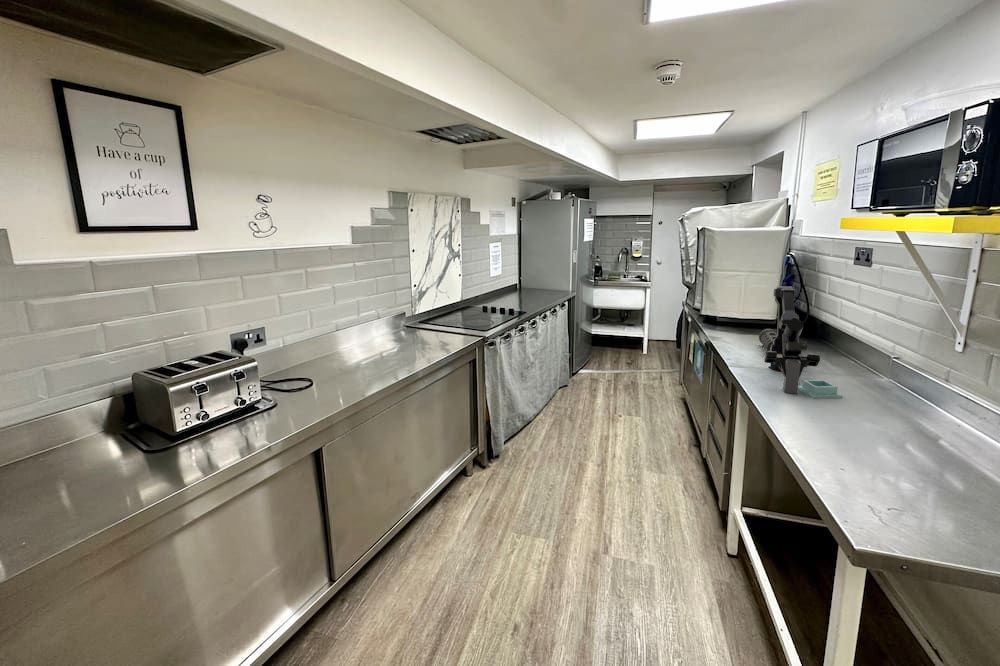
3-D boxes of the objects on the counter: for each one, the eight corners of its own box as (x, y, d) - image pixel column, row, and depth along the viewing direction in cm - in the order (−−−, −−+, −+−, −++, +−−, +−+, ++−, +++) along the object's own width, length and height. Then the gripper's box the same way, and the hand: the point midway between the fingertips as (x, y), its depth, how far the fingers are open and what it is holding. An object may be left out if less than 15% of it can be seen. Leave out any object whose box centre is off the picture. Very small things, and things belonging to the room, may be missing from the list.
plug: (782, 388, 186) (786, 358, 183) (795, 389, 184) (798, 359, 181) (784, 392, 182) (787, 361, 179) (797, 393, 180) (800, 362, 177)
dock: (796, 388, 187) (797, 379, 186) (824, 388, 186) (826, 378, 185) (812, 397, 176) (813, 388, 175) (842, 397, 175) (843, 388, 174)
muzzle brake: (765, 358, 229) (767, 338, 227) (757, 345, 254) (758, 327, 252) (786, 359, 226) (789, 339, 223) (776, 346, 251) (778, 328, 249)
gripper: (767, 332, 185) (768, 365, 178) (822, 334, 178) (825, 369, 170) (763, 345, 194) (764, 378, 187) (815, 349, 186) (818, 382, 179)
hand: (792, 376), depth 180 cm, fingers closed on plug, 4 cm apart
